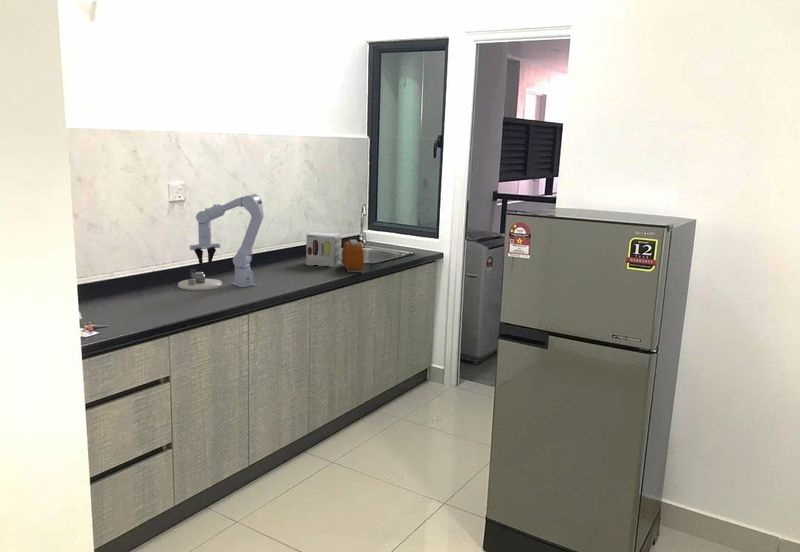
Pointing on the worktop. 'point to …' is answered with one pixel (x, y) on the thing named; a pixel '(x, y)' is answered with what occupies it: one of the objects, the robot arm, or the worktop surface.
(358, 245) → the orange plastic container
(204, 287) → the base
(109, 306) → the worktop surface
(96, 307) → the worktop surface
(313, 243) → the supplement box
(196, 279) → the latch lever
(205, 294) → the worktop surface
